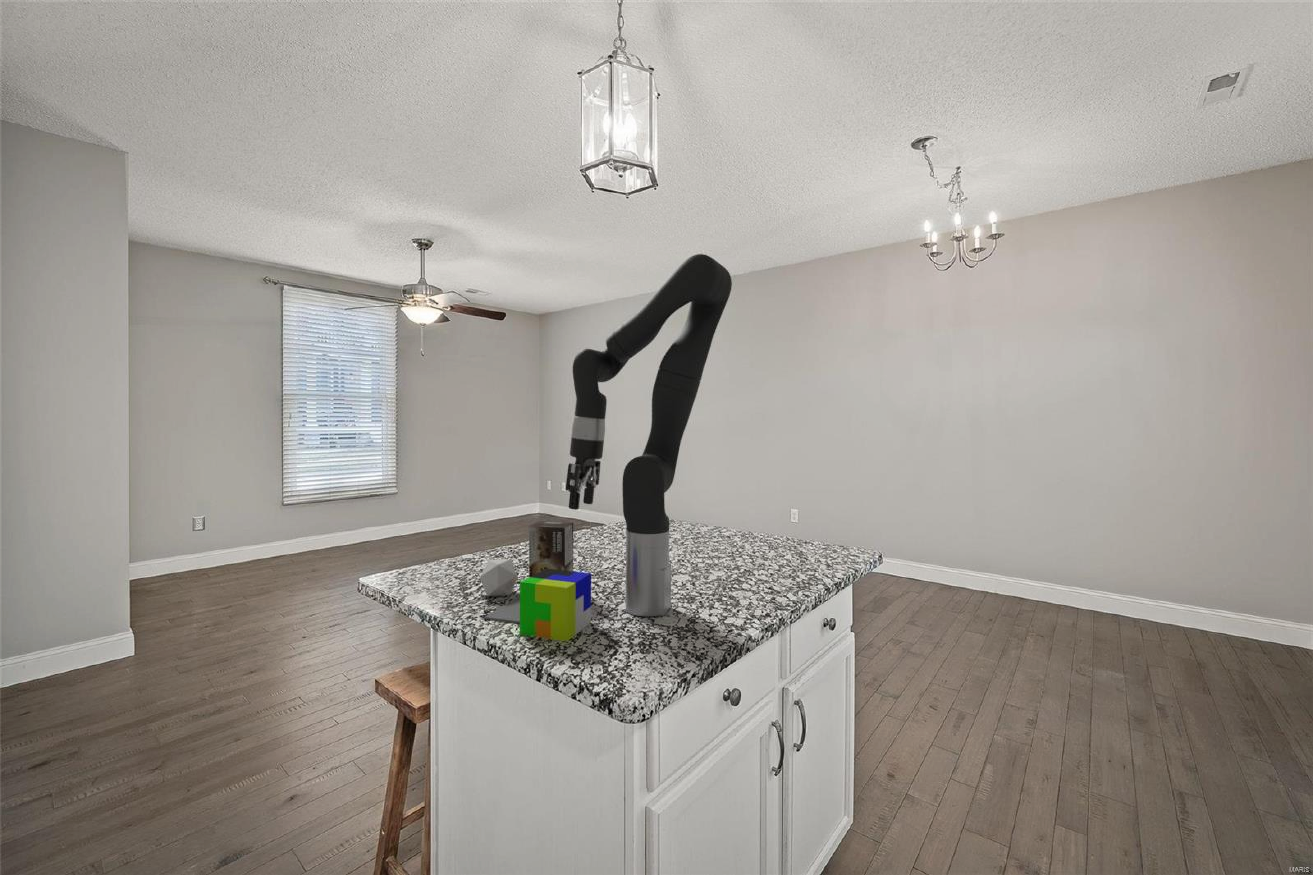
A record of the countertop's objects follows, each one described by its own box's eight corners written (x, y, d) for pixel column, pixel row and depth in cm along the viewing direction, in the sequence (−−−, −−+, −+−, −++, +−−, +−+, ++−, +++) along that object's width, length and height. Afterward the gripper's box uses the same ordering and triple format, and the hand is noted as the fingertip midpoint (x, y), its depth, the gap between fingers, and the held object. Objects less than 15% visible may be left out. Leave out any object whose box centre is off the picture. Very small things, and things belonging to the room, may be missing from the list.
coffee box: (574, 588, 129) (574, 522, 129) (565, 597, 123) (565, 527, 123) (538, 586, 131) (538, 520, 131) (527, 594, 125) (527, 525, 124)
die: (502, 605, 119) (526, 566, 123) (468, 585, 119) (493, 547, 123) (504, 606, 127) (527, 570, 130) (473, 588, 127) (496, 552, 131)
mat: (559, 598, 122) (559, 596, 122) (524, 623, 107) (524, 621, 107) (523, 594, 125) (523, 592, 125) (484, 618, 109) (484, 617, 109)
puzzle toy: (590, 622, 108) (591, 573, 108) (566, 642, 99) (567, 587, 98) (547, 616, 111) (547, 568, 111) (519, 634, 102) (519, 582, 102)
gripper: (591, 440, 116) (584, 513, 117) (613, 438, 130) (606, 504, 131) (559, 436, 118) (552, 508, 119) (584, 434, 132) (578, 499, 133)
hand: (581, 506), depth 125 cm, fingers open, 8 cm apart
